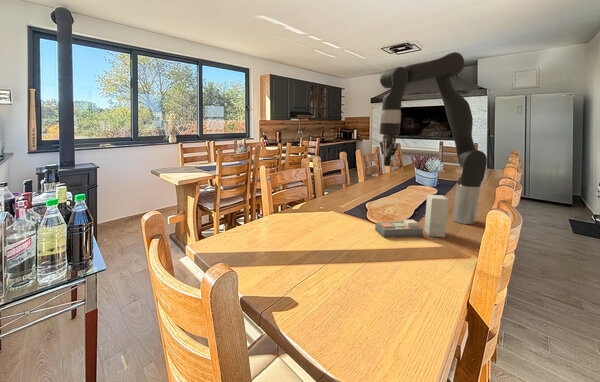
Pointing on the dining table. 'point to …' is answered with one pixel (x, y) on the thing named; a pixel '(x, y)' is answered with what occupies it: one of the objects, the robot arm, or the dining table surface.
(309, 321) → the dining table surface
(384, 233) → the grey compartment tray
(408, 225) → the key ivory
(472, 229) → the dining table surface
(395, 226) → the key sage
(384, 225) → the key coral
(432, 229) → the skincare box
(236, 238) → the dining table surface
